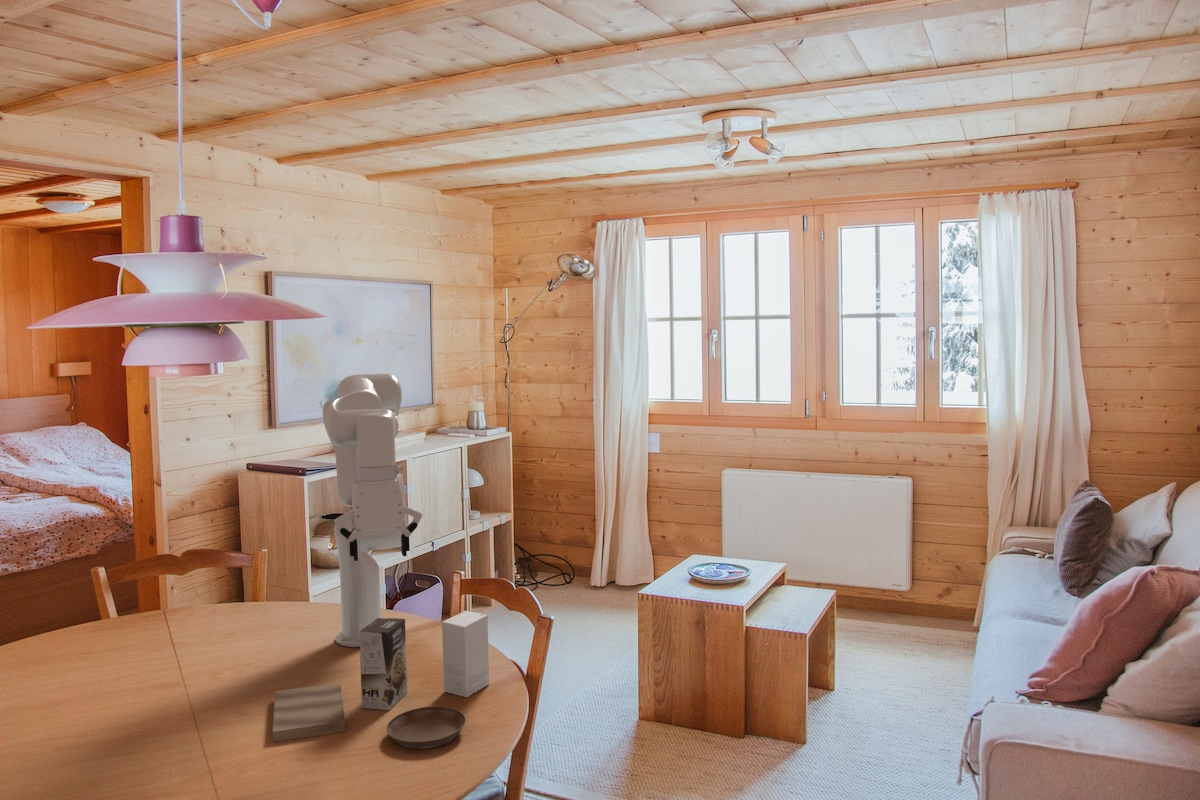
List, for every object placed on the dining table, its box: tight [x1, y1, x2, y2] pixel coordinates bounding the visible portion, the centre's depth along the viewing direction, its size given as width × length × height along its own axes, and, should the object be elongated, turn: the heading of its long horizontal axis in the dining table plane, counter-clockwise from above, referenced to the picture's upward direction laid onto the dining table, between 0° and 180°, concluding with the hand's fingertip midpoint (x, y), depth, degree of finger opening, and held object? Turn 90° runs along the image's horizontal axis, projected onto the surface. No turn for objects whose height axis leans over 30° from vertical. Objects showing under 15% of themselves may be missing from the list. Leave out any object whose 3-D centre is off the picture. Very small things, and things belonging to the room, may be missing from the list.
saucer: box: [386, 706, 467, 750], centre depth 171 cm, size 15×15×3 cm
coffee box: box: [359, 617, 408, 711], centre depth 186 cm, size 9×6×16 cm
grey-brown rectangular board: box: [272, 682, 346, 743], centre depth 180 cm, size 20×13×2 cm, turn 18°
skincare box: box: [441, 610, 490, 698], centre depth 192 cm, size 8×7×16 cm
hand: (380, 557), depth 184 cm, fingers open, 9 cm apart
